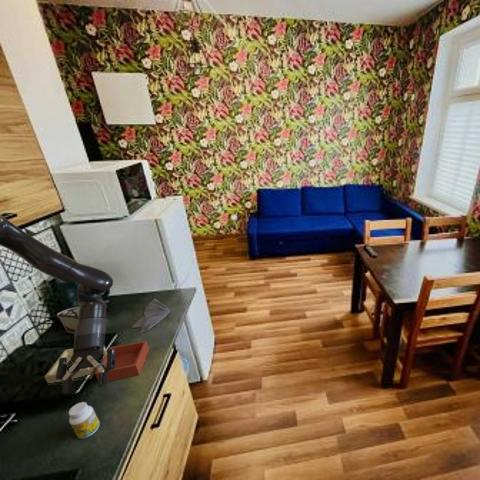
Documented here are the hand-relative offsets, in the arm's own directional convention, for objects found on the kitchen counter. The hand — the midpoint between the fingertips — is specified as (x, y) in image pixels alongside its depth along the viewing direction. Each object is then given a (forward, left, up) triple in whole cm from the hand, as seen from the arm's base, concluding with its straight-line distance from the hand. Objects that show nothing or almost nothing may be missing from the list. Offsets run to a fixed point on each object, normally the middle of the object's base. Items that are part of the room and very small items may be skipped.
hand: (84, 390), depth 80 cm
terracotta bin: (+2, +19, -11) cm, 22 cm away
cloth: (+4, +50, -11) cm, 52 cm away
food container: (-24, +47, -11) cm, 54 cm away
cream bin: (-14, +22, -11) cm, 29 cm away
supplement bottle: (0, -5, -11) cm, 12 cm away
